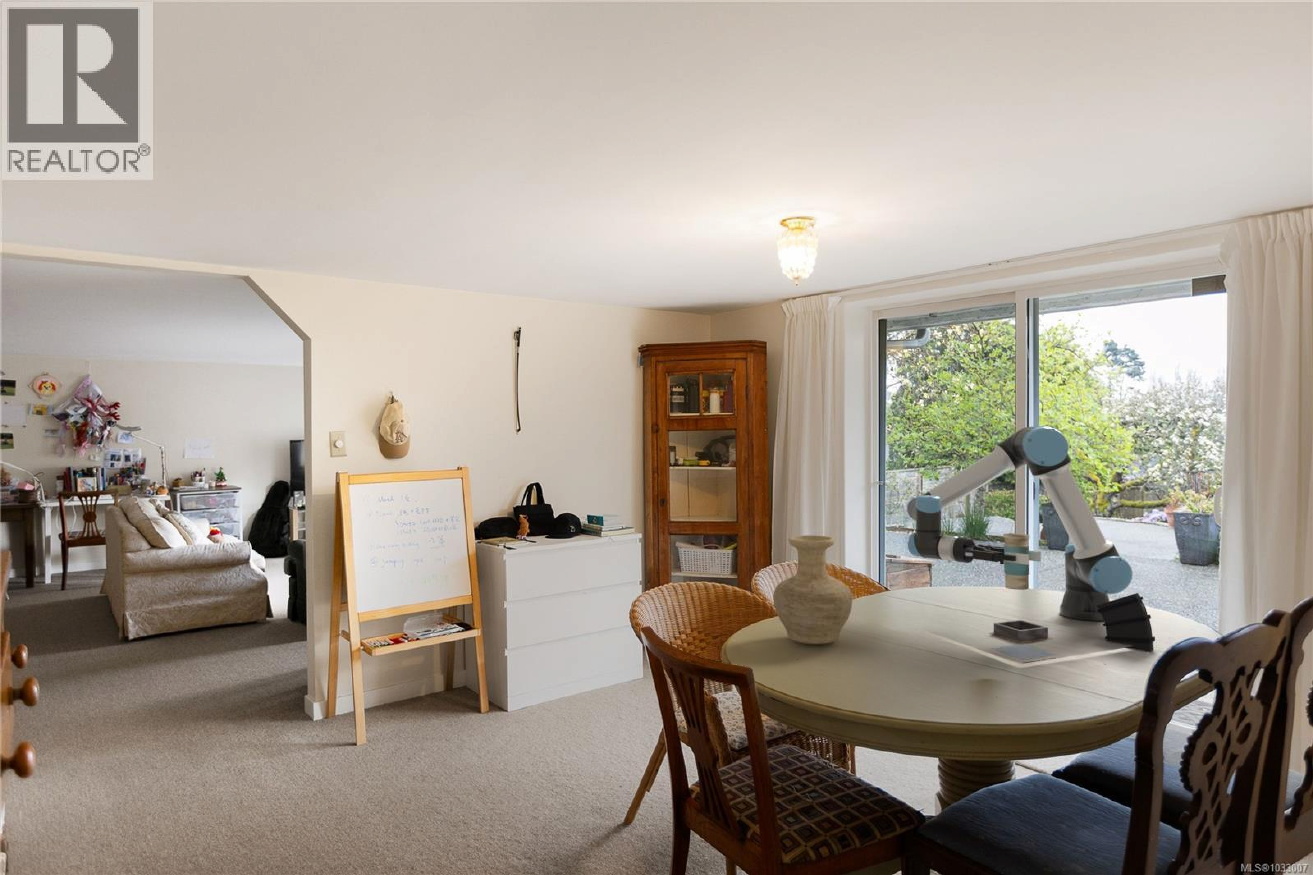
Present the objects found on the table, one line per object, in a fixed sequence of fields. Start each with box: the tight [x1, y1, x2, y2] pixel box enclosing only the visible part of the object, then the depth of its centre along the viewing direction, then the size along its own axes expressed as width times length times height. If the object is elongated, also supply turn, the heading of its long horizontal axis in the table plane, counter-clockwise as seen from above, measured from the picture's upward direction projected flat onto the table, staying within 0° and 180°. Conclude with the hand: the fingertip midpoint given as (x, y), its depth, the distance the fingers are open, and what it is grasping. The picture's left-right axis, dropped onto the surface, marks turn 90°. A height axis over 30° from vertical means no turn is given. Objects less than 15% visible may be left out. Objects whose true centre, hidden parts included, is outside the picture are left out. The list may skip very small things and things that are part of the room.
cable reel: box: [1002, 532, 1030, 591], centre depth 222 cm, size 7×7×15 cm
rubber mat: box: [992, 643, 1057, 664], centre depth 209 cm, size 11×11×1 cm
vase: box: [772, 534, 853, 645], centre depth 226 cm, size 22×22×30 cm
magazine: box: [1097, 592, 1156, 653], centre depth 215 cm, size 4×13×15 cm, turn 39°
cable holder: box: [988, 619, 1054, 644], centre depth 224 cm, size 12×12×4 cm
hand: (1034, 558), depth 218 cm, fingers closed on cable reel, 6 cm apart
